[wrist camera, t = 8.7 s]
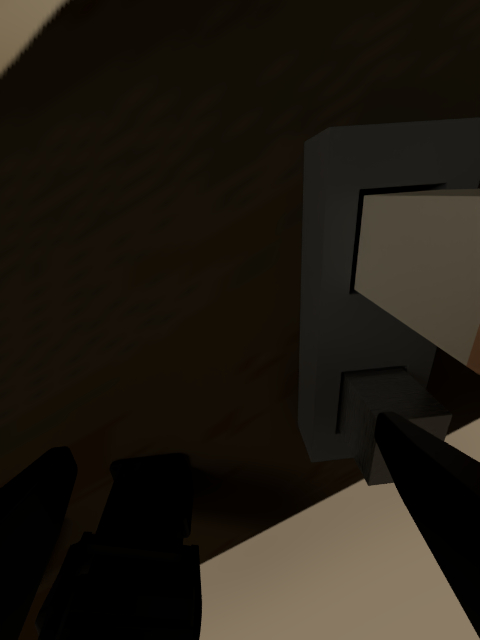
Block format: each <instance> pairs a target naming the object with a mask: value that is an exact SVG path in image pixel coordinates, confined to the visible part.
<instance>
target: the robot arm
mask: <svg viewBox="0 0 480 640" xmlns="http://www.w3.org/2000/svg"><path fill="white" fill-rule="evenodd" d="M374 436H375V440H376V443H377V445H378V447H379V450H380V452H381V454H382V456H383V459H384V461H385V463H386V466H387V468H388V470H389V472H390V475H391V477H392V479H393V481H394V483H395V486H396V488H397V490H398V492H399V494H400V496H401V498H402V500H403V502H404V504H405V505H406V507H407V509H408V511H409V513H410V514H411V516H412V518H413V520H414V522H415V523H416V525H417V527H418V529H419V531H420V532H421V534H422V536H423V538H424V540H425V541H426V543H427V545H428V547H429V549H430V550H431V552H432V554H433V556H434V557H435V559H436V561H437V563H438V565H439V566H440V568H441V570H442V572H443V574H444V575H445V577H446V579H447V581H448V583H449V584H450V586H451V588H452V590H453V591H454V593H455V595H456V597H457V599H458V600H459V602H460V604H461V606H462V608H463V609H464V611H465V613H466V615H467V616H468V618H469V620H470V622H471V623H472V626H473V627H474V629H475V631H476V632H477V635H478V636H479V638H480V462H478V461H476V460H475V459H473V458H471V457H470V456H468V455H466V454H464V453H463V452H461V451H459V450H458V449H456V448H454V447H453V446H451V445H449V444H448V443H446V442H444V441H443V440H441V439H439V438H437V437H436V436H434V435H432V434H431V433H429V432H427V431H426V430H424V429H422V428H421V427H419V426H417V425H415V424H414V423H412V422H410V421H409V420H407V419H405V418H404V417H402V416H400V415H399V414H397V413H395V412H392V411H390V412H381V413H379V414H378V416H377V421H376V426H375V432H374ZM110 471H111V474H112V477H113V479H114V483H113V486H112V489H111V491H110V494H109V497H108V500H107V503H106V506H105V508H104V511H103V514H102V517H101V520H100V523H99V525H98V528H97V531H96V534H92V532H84V533H83V536H82V538H81V540H80V541H79V542H78V543H76V544H73V545H70V548H69V550H68V553H67V555H66V557H65V560H64V562H63V565H62V567H61V569H60V572H59V574H58V576H57V578H56V580H55V582H54V584H53V586H52V588H51V590H50V592H49V594H48V595H47V597H46V599H45V601H44V603H43V605H42V607H41V609H40V611H39V614H38V616H37V619H36V622H35V626H36V629H37V632H38V635H39V638H38V640H199V637H200V629H201V618H202V595H201V579H200V561H199V546H198V545H191V546H187V545H183V538H188V537H189V535H190V532H191V518H192V504H193V486H192V482H191V477H190V474H189V473H188V472H187V473H186V469H185V464H184V460H183V456H182V455H180V454H173V455H164V456H156V457H147V458H138V459H130V460H121V461H114V462H112V464H111V466H110ZM76 476H77V464H76V462H75V460H74V458H73V455H72V453H71V451H70V449H69V448H68V447H66V446H64V447H54V448H51V449H50V450H48V451H47V452H46V453H44V454H43V455H42V456H41V457H39V458H38V459H37V460H36V461H34V462H33V463H32V464H31V465H29V466H28V467H27V468H26V469H24V470H23V471H22V472H21V473H19V474H18V475H17V476H16V477H14V478H13V479H12V480H11V481H9V482H8V483H7V484H6V485H4V486H3V487H2V488H1V489H0V640H18V637H19V635H20V632H21V630H22V627H23V625H24V622H25V620H26V617H27V615H28V612H29V610H30V607H31V605H32V602H33V600H34V597H35V594H36V592H37V589H38V587H39V584H40V582H41V579H42V577H43V574H44V572H45V569H46V567H47V564H48V562H49V559H50V557H51V554H52V552H53V549H54V547H55V544H56V541H57V539H58V536H59V533H60V530H61V527H62V524H63V520H64V517H65V514H66V510H67V507H68V503H69V500H70V497H71V493H72V490H73V486H74V483H75V480H76Z"/></svg>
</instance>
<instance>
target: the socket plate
mask: <svg viewBox="0 0 480 640" xmlns="http://www.w3.org/2000/svg"><path fill="white" fill-rule="evenodd" d="M479 181H480V118H466V119H450V120H434V121H419V122H403V123H388V124H372V125H357V126H341V127H329V128H328V129H326V130H324V131H322V132H321V133H319V134H317V135H316V136H314V137H312V138H310V139H309V140H307V141H305V143H304V185H303V227H302V269H301V311H300V353H299V395H298V426H299V429H300V432H301V435H302V437H303V440H304V443H305V446H306V449H307V451H308V454H309V457H310V460H311V462H319V461H327V460H336V459H344V458H353V456H352V454H351V452H350V450H349V448H348V446H347V444H346V442H345V440H344V439H343V437H342V435H341V433H340V431H339V429H338V427H337V425H336V422H337V412H338V402H339V392H340V382H341V372H346V371H355V370H365V369H374V368H384V367H393V366H401V367H402V368H403V369H404V370H405V371H406V372H407V373H408V374H409V375H410V376H411V377H413V378H414V379H415V380H416V381H417V382H418V383H419V384H420V385H421V386H422V387H423V388H424V389H425V390H426V388H427V384H428V380H429V376H430V372H431V368H432V364H433V360H434V356H435V353H436V349H437V346H436V345H435V344H433V343H432V342H430V341H429V340H427V339H426V338H425V337H423V336H422V335H420V334H419V333H417V332H416V331H414V330H413V329H411V328H410V327H408V326H407V325H406V324H404V323H403V322H401V321H400V320H398V319H397V318H395V317H394V316H392V315H391V314H390V313H388V312H387V311H385V310H384V309H382V308H381V307H379V306H378V305H376V304H375V303H373V302H372V301H371V300H369V299H368V298H366V297H365V296H363V295H362V294H360V293H359V292H357V291H356V290H354V287H355V278H356V274H351V270H352V260H353V250H354V240H355V230H356V220H357V210H358V200H359V189H371V188H384V187H397V186H400V192H399V193H403V192H416V191H429V190H448V189H478V185H479Z"/></svg>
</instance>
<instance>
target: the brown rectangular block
mask: <svg viewBox="0 0 480 640" xmlns="http://www.w3.org/2000/svg"><path fill="white" fill-rule="evenodd" d="M354 290H356V291H357V292H359V293H360V294H362V295H363V296H365V297H366V298H368V299H369V300H371V301H372V302H373V303H375V304H376V305H378V306H379V307H381V308H382V309H384V310H385V311H387V312H388V313H390V314H391V315H392V316H394V317H395V318H397V319H398V320H400V321H401V322H403V323H404V324H406V325H407V326H408V327H410V328H411V329H413V330H414V331H416V332H417V333H419V334H420V335H422V336H423V337H425V338H426V339H427V340H429V341H430V342H432V343H433V344H435V345H436V346H438V347H439V348H441V349H442V350H444V351H445V352H446V353H448V354H449V355H451V356H452V357H454V358H455V359H457V360H458V361H460V362H461V363H463V364H464V365H465V366H467V367H468V368H470V369H471V370H473V371H474V372H476V373H477V374H479V375H480V189H448V190H429V191H416V192H403V193H389V194H376V195H364V202H363V212H362V221H361V231H360V240H359V250H358V259H357V268H356V278H355V287H354Z"/></svg>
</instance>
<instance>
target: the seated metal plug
mask: <svg viewBox="0 0 480 640" xmlns="http://www.w3.org/2000/svg"><path fill="white" fill-rule="evenodd" d="M390 411H392V412H395V413H397V414H399V415H400V416H402V417H404V418H405V419H407V420H409V421H410V422H412V423H414V424H415V425H417V426H419V427H421V428H422V429H424V430H426V431H427V432H429V433H431V434H432V435H434V436H436V437H437V438H439V439H441V440H443V441H444V440H445V437H446V433H447V430H448V427H449V424H450V421H451V418H452V414H451V413H450V412H449V411H448V410H447V409H446V408H445V407H444V406H443V405H442V404H440V403H439V402H438V401H437V400H436V399H435V398H434V397H433V396H432V395H431V394H430V393H429V392H428V391H426V390H425V389H424V388H423V387H422V386H421V385H420V384H419V383H418V382H417V381H416V380H415V379H414V378H413V377H411V376H410V375H409V374H408V373H407V372H406V371H405V370H404V369H403V368H402V367H401V366H393V367H384V368H374V369H365V370H355V371H346V372H341V382H340V392H339V402H338V412H337V422H336V425H337V427H338V429H339V431H340V433H341V435H342V437H343V439H344V440H345V442H346V444H347V446H348V448H349V450H350V452H351V454H352V456H353V458H354V459H355V461H356V463H357V465H358V467H359V469H360V471H361V473H362V475H363V477H364V479H365V480H366V482H367V484H368V486H371V485H379V484H387V483H394V481H393V479H392V477H391V475H390V472H389V470H388V468H387V466H386V463H385V461H384V459H383V456H382V454H381V452H380V450H379V447H378V445H377V443H376V440H375V436H374V432H375V426H376V421H377V416H378V414H379V413H381V412H390Z"/></svg>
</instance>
